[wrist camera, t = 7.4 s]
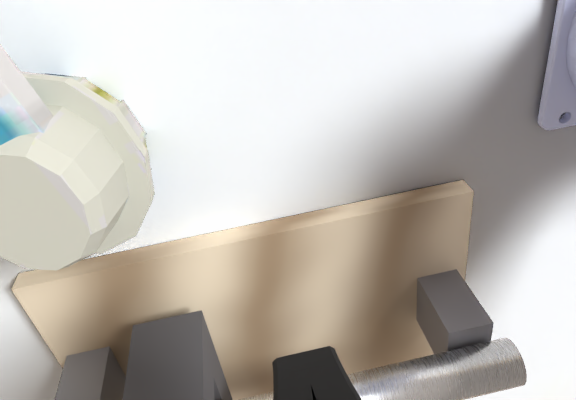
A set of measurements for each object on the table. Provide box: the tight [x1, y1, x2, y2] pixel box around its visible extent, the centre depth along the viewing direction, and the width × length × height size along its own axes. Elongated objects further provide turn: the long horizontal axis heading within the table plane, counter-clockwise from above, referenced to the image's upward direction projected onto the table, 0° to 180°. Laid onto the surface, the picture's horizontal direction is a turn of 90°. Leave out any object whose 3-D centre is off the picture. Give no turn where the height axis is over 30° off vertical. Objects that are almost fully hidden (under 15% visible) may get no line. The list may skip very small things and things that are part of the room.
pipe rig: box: [11, 180, 526, 400], centre depth 22 cm, size 20×12×7 cm, turn 98°
